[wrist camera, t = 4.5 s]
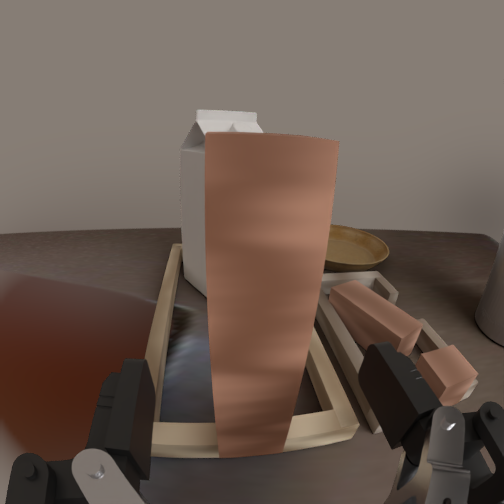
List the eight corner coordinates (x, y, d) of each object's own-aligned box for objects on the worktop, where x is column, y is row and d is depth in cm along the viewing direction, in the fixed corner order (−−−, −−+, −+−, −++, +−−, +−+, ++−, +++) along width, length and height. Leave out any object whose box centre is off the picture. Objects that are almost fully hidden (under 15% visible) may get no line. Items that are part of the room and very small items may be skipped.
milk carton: (183, 279, 34) (179, 111, 27) (232, 264, 39) (236, 113, 31) (216, 307, 30) (217, 107, 22) (268, 287, 34) (280, 112, 26)
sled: (271, 254, 41) (278, 130, 34) (355, 449, 15) (464, 165, 8) (173, 255, 39) (169, 129, 33) (136, 466, 13) (29, 151, 6)
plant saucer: (404, 276, 38) (408, 259, 37) (311, 286, 35) (314, 266, 34) (355, 237, 51) (358, 223, 50) (277, 240, 48) (278, 224, 47)
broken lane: (374, 283, 35) (382, 248, 33) (473, 403, 16) (501, 361, 14) (300, 288, 34) (305, 249, 32) (378, 444, 15) (406, 402, 13)
